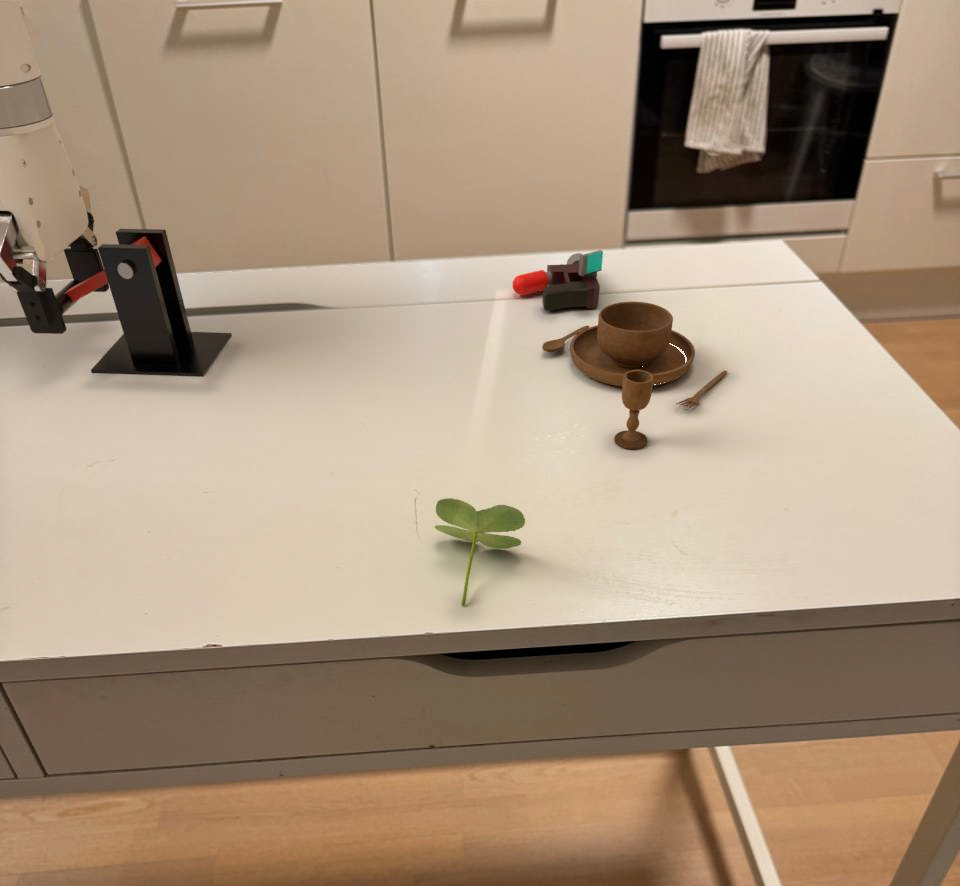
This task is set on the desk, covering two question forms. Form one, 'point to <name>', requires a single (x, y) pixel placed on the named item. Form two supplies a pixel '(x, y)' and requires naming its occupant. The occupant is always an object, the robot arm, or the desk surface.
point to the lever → (92, 283)
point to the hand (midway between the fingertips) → (72, 310)
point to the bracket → (152, 312)
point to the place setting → (632, 357)
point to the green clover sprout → (479, 526)
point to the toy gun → (565, 282)
